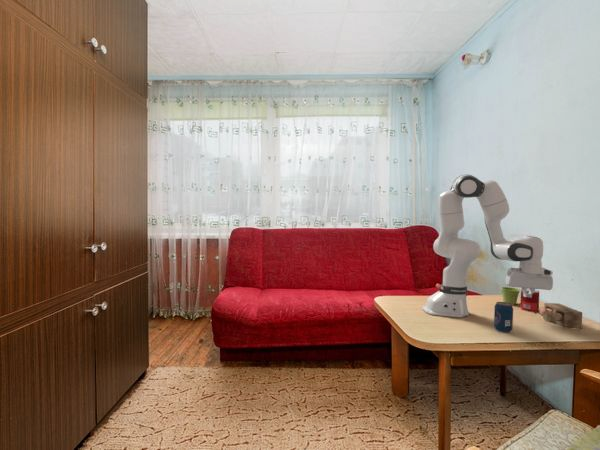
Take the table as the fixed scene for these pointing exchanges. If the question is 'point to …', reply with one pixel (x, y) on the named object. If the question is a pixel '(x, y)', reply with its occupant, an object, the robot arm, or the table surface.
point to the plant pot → (510, 295)
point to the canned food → (530, 301)
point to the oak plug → (553, 316)
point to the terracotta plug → (545, 310)
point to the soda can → (503, 317)
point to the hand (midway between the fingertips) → (527, 297)
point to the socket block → (566, 315)
